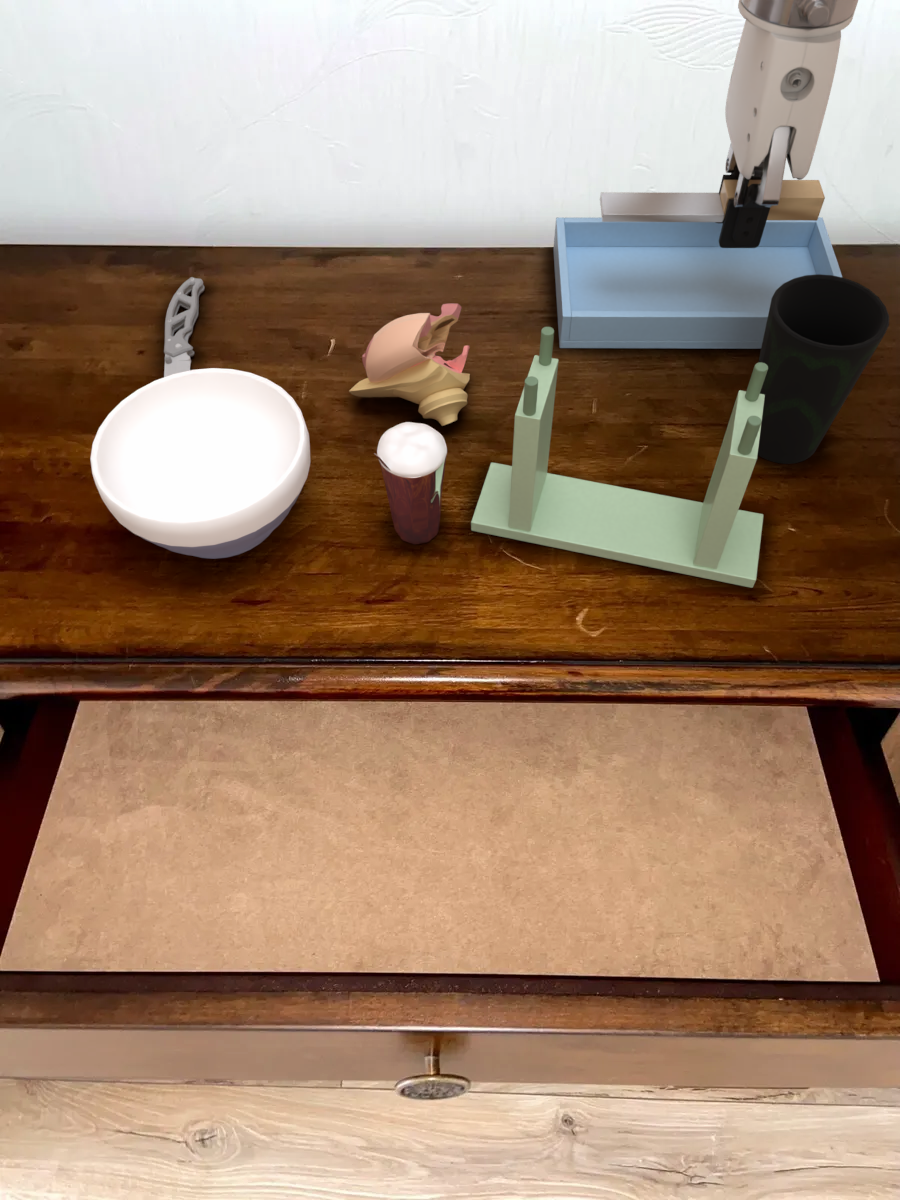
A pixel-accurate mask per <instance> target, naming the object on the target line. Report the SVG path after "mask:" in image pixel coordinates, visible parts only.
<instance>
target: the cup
mask: <svg viewBox="0 0 900 1200" xmlns="http://www.w3.org/2000/svg"><path fill="white" fill-rule="evenodd" d="M842 277H843V276H842ZM842 277H838V276H833V275H821V274H817V275H805V276H802V277H798V278H794V279H792V280H790V281H788V282H786V283H784V284H782V285H781V286H780V287H779V288H778V289H777V290H776V291H775V293H774V295H773V297H772V299H771V304H770V309H769V314H768V318H767V323H766V328H765V333H764V338H763V342H762V347H761V349H760V352H759V357H758V362H757V363H759V362H762V363H765V364H766V365H767V366H768V371H767V374H766V377H765V380H764V382H763V385H762V388H761V391H760V394H764V395H765V398H764V406H763V415H762V423H761V431H760V439H759V447H758V455H757V456H759V457H760V458H762V459H764V460H767V461H769V462H772V463H775V464H782V465H783V464H784V465H791V464H798V463H801V462H804V461H806V460H808V459H809V458H811V457H812V456H813V455H814V454H815V452H817V449H818V448H819V446H820V444H821V442H822V441H823V439H824V437H825V436H826V434H827V432H828V431H829V429H830V427H831V426H832V424H833V422H834V420H835V419H836V417H837V415H838V414H839V412H840V410H841V409H842V407H843V406H844V404H845V402H846V400H847V399H848V397H849V395H850V394H851V392H852V390H853V389H854V387H855V386H856V383H857V382H858V380H859V379H860V376H861V375H862V373H863V372H864V370H865V368H866V367H867V365H868V364H869V361H870V360H871V358H872V357H873V355H874V353H875V351H876V350H877V349H878V347H879V345H880V343H881V341H882V340H883V338H884V336H885V334H886V333H887V330H888V328H889V325H890V314H889V312H888V309H887V306H886V305H885V304H884V302H883V301H882V300H881V298H880V297H879V296H878V295H877V294H876V293H874V292H873V291H872V290H871V289H870V288H868V287H866V286H864V285H863V284H861V283H860V282H856V281H854V280H852V279H848V278H846V277H843V278H842Z"/></svg>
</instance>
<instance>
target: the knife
mask: <svg viewBox="0 0 900 1200" xmlns="http://www.w3.org/2000/svg"><path fill="white" fill-rule="evenodd" d="M204 291H205V284H204V281H203V279H202V278H196V277H193V276H191V277H189V278H188V279H187V280H185V281H184V282H183V283H182V284H181V285H180V286H179V288H178V289H177V290H176V292H175V293H174V294H173V296H172V297H171V300H170V301H169V304H168V307H167V310H166V314H165V320H164V344H163V354H164V368H163V369H164V371H163V378H164V377H167V376H169V375H172V374H176V373H181V372H185V371H190V370H191V364H192V359H191V357H194V356H195V351H194V350H193V349H194V347H193V346H192V344H190V343H189V339H190V337H191V336H192V334H193V331H194V326H195V323H196V322H197V319H198V317H199V307H200V304H199V302H200V301H199V299H200V295H201V294H203V293H204ZM190 293H191V296H189V294H190ZM180 307H182V308H184V309H186V310H184V311H181V312H180V313H178V312H179V310H180ZM175 332H176V333H175Z"/></svg>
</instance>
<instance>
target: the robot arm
mask: <svg viewBox="0 0 900 1200" xmlns="http://www.w3.org/2000/svg"><path fill="white" fill-rule="evenodd" d="M858 2H859V0H738V4H737V9H738V12H739V14H740V15H741V16H742V17H743V19H744V20H745V22H744V24H743V28H742V32H741V36H740V39H739V43H738V46H737V51H736V54H735V58H734V62H733V66H732V71H731V75H730V81H729V84H728V89H727V90H728V91H727V94H726V101H725V112H724V114H725V123H726V127H727V131H728V136H729V140H730V145H729V148H728V152H727V155H726V156H727V157H726V160H725V165H724V166H725V167H724V168H725V169H724V170H725V173H726V174H722V178H721V182H720V186H719V191H718V193H719V195H720V193H721V189H722V185H723V181H724V180H738V183H737V187H736V191H735V195H734V199H729V201H728V205H727V209H726V213H725V217H724V220H723V221H722V222H715V223H723V225H722V229H721V233H720V237H719V245H720V247H721V248H756V247H758V246H759V244H760V241H761V238H762V234H763V231H764V228H765V224H766V221H767V217H768V214H769V211H770V207H772V205H773V206H777V205H778V204H779V200H780V194H781V188H782V182H783V180H784V176H785V169H786V164H788V167H789V171H790V173H791V176H792V179H796V180H804V178H806V177H807V175H808V174H809V171H810V168H811V165H812V163H813V158H814V156H815V153H816V152H815V151H816V148H817V145H818V142H819V141H818V140H819V137H820V133H821V130H822V126H823V121H824V118H825V115H826V111H827V108H828V104H829V100H830V95H831V92H832V87H833V82H834V78H835V74H836V68H837V64H838V59H839V53H840V47H841V39H842V31H843V30H845V29H846V28H847V27H848V26H849V25H851V23H852V21H853V19H854V15H855V11H856V9H857V7H858ZM749 180H761V183H760V184H751V185H750V186H748V184H749Z"/></svg>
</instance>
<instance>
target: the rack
mask: <svg viewBox="0 0 900 1200" xmlns="http://www.w3.org/2000/svg"><path fill="white" fill-rule="evenodd" d="M554 337H555V330H554V328H553V327H551V326H544V327H542V328H541V331H540V341H539V342H540V343H539V352H538V354H535V355H534V356H533V358H532V361H531V365H530V368H529V371H528V374H527V376H526V377H525V379H524V385H523V389H522V391H521V395H520V398H519V401H518V404H517V407H516V410H515V413H514V424H513V441H512V442H513V443H512V459H511V465H509V464H503V463H498V462H490V463H489V467H488V470H487V473H486V476H485V479H484V482H483V485H482V488H481V491H480V494H479V497H478V499H477V503H476V506H475V509H474V511H473V514H472V518H471V521H470V530H471V532H477V533H482V534H485V535H492V536H495V537H496V536H497V537H500V538H501V537H502V538H505V539H511V540H515V541H520V542H525V543H530V544H534V545H535V544H536V545H540V546H545V547H550V548H555V549H559V550H565V551H569V552H575V553H579V554H583V555H589V556H593V557H598V558H603V559H608V560H614V561H617V562H623V563H628V564H632V565H638V566H643V567H646V568H647V567H648V568H652V569H657V570H662V571H666V572H673V573H677V574H682V575H687V576H691V577H695V578H701V579H707V580H711V581H716V582H722V583H725V584H730V585H735V586H739V587H746V588H750V589H752V588H754V586H755V584H756V581H757V577H758V568H759V559H760V552H761V551H760V549H761V542H762V541H761V540H762V533H763V532H762V531H763V525H764V514H763V513H759V512H753V511H748V510H742V509H740V506H741V504H742V501H743V498H744V497H745V496H744V495H745V493H746V491H747V488H748V484H749V482H750V480H751V478H752V474H753V472H754V468H755V466H756V463H757V461H758V456H759V455H758V447H759V439H760V431H761V423H762V415H763V406H764V398H765V395H764V394H760V391H761V388H762V385H763V382H764V380H765V377H766V374H767V371H768V366H767V365H766V364H765V363H762V362H759V361H758V362H759V363H758V362H756V363H755V364H754V367H753V370H752V373H751V376H750V378H749V381H748V385H747V388H746V390H741V389H740V390H738V392H737V394H736V398H735V401H734V405H733V408H732V411H731V414H730V417H729V420H728V424H727V427H726V429H725V433H724V436H723V440H722V442H721V446H720V449H719V452H718V455H717V458H716V462H715V465H714V466H713V467H714V468H713V470H712V474H711V477H710V479H709V483H708V487H707V489H706V493H705V496H704V499H703V502H701V501H696V500H691V499H686V498H680V497H676V496H670V495H666V494H661V493H660V494H659V493H654V492H650V491H643V490H639V489H634V488H628V487H623V486H619V485H612V484H607V483H602V482H597V481H592V480H587V479H582V478H576V477H571V476H566V475H561V474H555V473H551V472H550V473H549V472H548V467H549V466H548V465H549V459H550V448H551V439H552V438H551V437H552V428H553V419H554V411H555V410H554V408H555V401H556V400H555V399H556V390H557V389H556V388H557V381H558V369H559V361H560V360H559V358H554V357H553V350H554V349H553V348H554V339H555V338H554Z"/></svg>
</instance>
